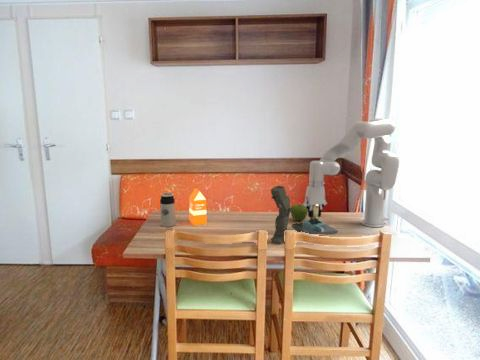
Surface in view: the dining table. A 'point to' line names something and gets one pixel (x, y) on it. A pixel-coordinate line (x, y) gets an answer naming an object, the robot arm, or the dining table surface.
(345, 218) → the dining table surface
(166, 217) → the travel mug
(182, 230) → the dining table surface
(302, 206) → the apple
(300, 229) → the shaft mount
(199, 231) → the dining table surface
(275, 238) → the mechanical leg
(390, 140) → the robot arm
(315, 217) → the coupler
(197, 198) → the orange juice
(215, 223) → the dining table surface
